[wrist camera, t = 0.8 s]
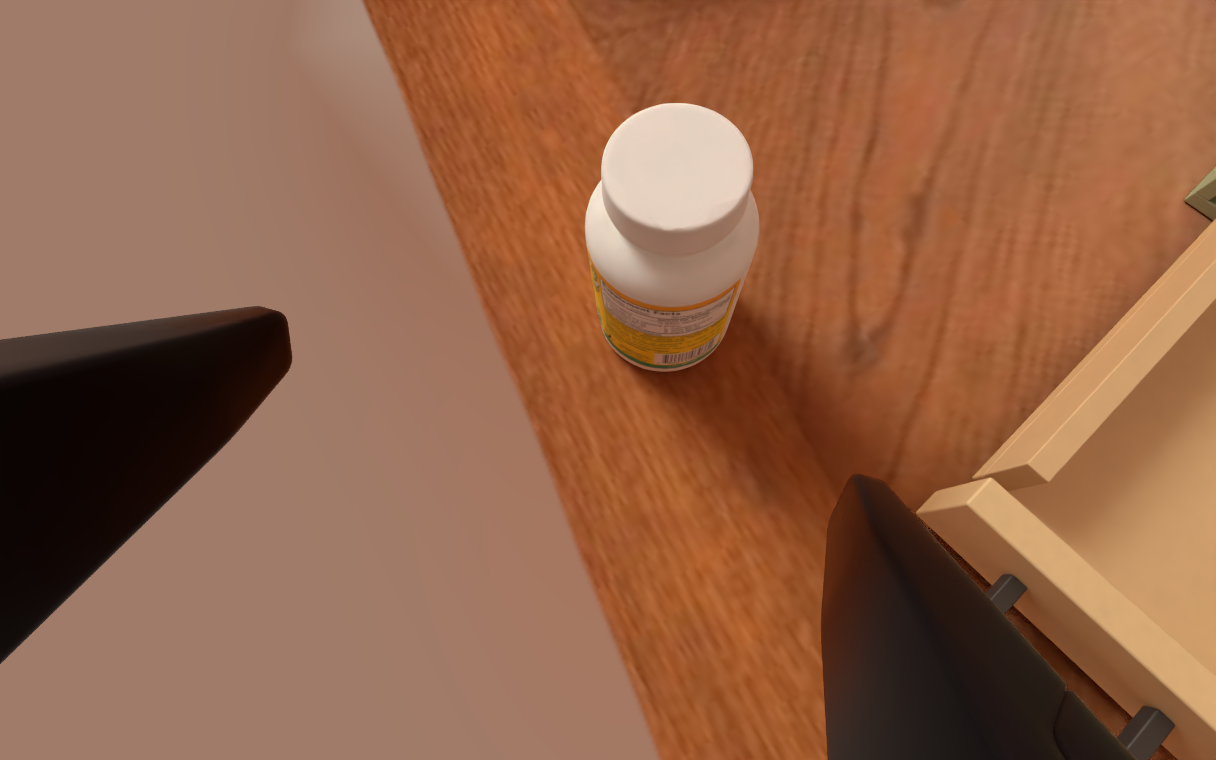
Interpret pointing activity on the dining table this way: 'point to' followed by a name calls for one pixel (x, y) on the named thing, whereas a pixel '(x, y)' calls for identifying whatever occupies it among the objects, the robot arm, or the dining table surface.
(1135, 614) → the drawer
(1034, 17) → the dining table surface
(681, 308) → the supplement bottle
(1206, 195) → the cabinet
